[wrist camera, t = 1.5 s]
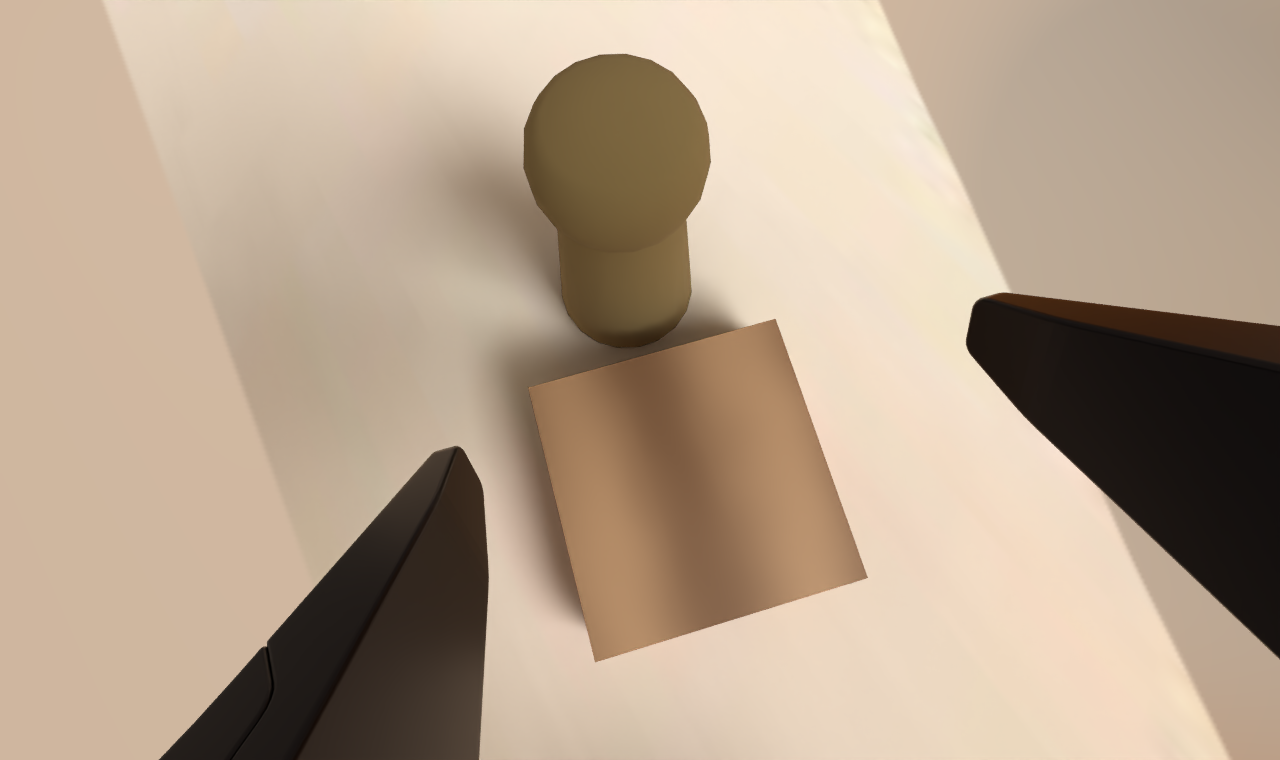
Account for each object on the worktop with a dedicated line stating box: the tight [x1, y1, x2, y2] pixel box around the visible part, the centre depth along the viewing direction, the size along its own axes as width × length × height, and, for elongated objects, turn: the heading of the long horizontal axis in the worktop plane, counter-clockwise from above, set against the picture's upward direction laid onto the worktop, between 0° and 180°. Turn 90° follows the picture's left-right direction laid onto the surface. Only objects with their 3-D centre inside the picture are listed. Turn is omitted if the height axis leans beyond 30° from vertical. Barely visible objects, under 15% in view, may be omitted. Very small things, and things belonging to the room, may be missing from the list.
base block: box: [528, 319, 868, 662], centre depth 20 cm, size 10×10×3 cm
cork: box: [524, 54, 711, 348], centre depth 18 cm, size 6×6×11 cm
